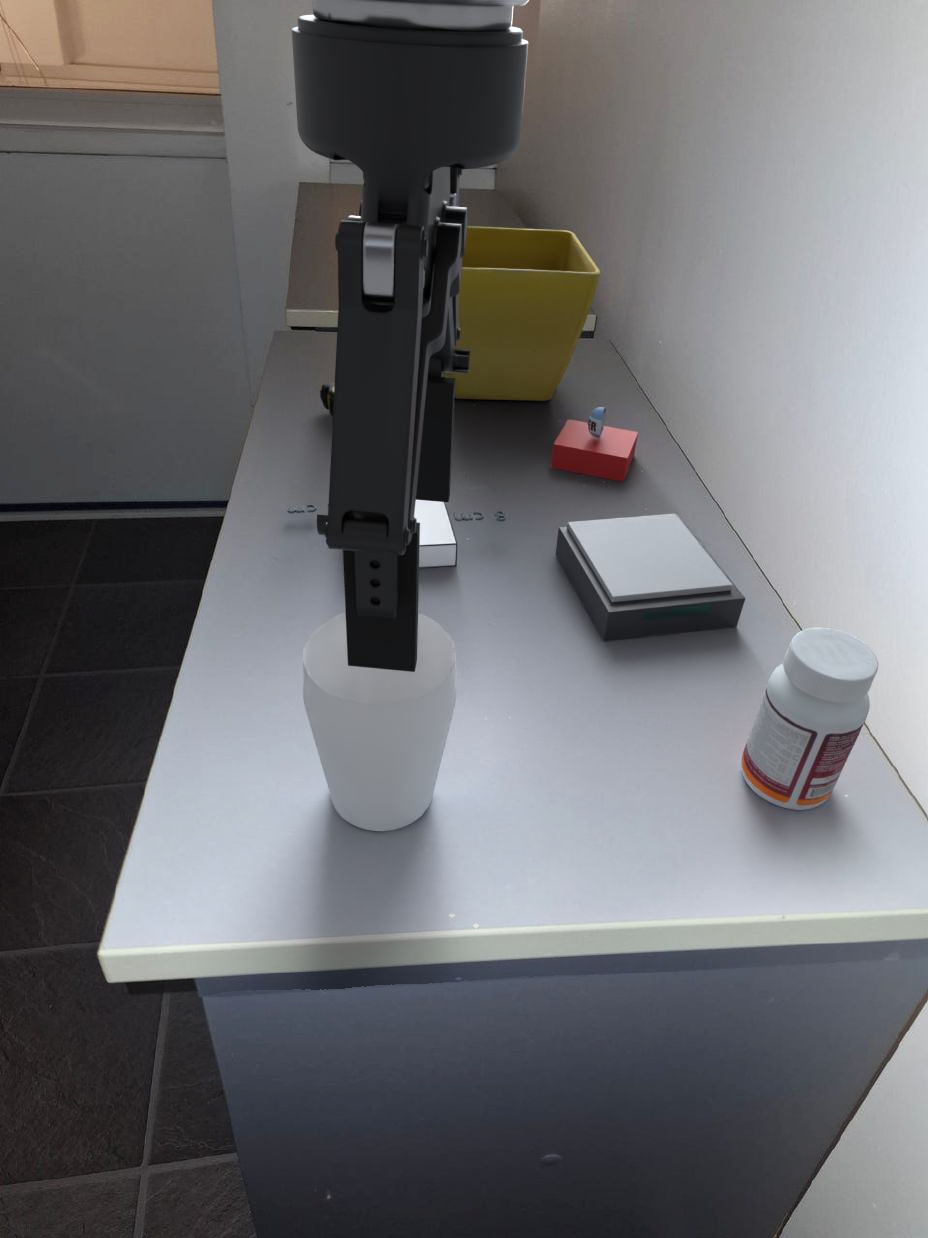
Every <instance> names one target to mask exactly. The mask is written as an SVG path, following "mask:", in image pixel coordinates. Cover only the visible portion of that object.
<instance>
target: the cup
mask: <svg viewBox="0 0 928 1238" xmlns="http://www.w3.org/2000/svg"><path fill="white" fill-rule="evenodd" d="M302 653H303V654H302V662H303V663H302V666H303V667H302V669H303V687H302V699H303V704H304V709H305V712H306V716H307V719H308V723H309V726H310V730H311V733H312V737H313V741H314V744H315V747H316V751H317V754H318V757H319V761H320V765H321V767H322V771H323V775H324V778H325V781H326V785H327V788H328V792H329V796H330V798H331V802H332V805H333V807H334V809H335V811H336V812H337V814H338V815H339V816H340V817H341V818H342V819H343V820H345V821H346V822H348V823H349V824H351V825H353V826H354V827H357V828H359V829H363V830H367V831H371V832H372V831H373V832H387V831H388V832H389V831H394V830H397V829H402V828H404V827H406V826H408V825H410V824H412V823H414V822H416V821H417V820H419V818H421V817H422V816H423V815H424V814H425V812H426V811H427V810H428V808H429V807H430V805H431V802H432V800H433V795H434V793H435V787H436V784H437V779H438V776H439V773H440V768H441V765H442V764H441V763H442V760H443V756H444V753H445V752H444V751H445V748H446V743H447V739H448V736H449V731H450V728H451V723H452V719H453V715H454V710H455V708H456V703H457V694H458V683H457V652H456V646H455V643H454V640H453V638H452V637H451V634H449V632H448V631H447V630H446V629H445V628H444V627H443V626H442V625H441V624H440V623H438V622H437V621H435V620H434V619H432V618H430V617H429V616H427V615H425V614H423V613H420V612H418V644H417V663H416V668H415V672H409V671H399V670H388V669H377V668H367V667H356V666H348V656H347V634H346V611H344V612H341V613H339V614H336V615H333V616H332V617H331V618H329V619H327V620H325V621H324V622H323V623H321V624H320V625H319V626H318V627H317V628H315V629H314V630H313V631H312V633H311V634H310V635H309V637H308V639H307V640H306V642H305V645H304V647H303V652H302Z"/></svg>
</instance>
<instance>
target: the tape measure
mask: <svg viewBox="0 0 928 1238" xmlns="http://www.w3.org/2000/svg"><path fill="white" fill-rule="evenodd" d="M334 385H335V382H329V383H325V384H322V385H321V389H320V390H319V393H320V394H319V397H320V400H321V402H322V405H323V407H324V408H325V409H326V410H328V411H329V414H330V416H331V417H332V418H333V405H334Z"/></svg>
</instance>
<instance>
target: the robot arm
mask: <svg viewBox="0 0 928 1238" xmlns="http://www.w3.org/2000/svg"><path fill="white" fill-rule="evenodd" d="M529 1H530V0H311V2H312V3H311V4H312V14H305V15H299V17H298V18H297V26H294V27H292V28H291V40H292V58H293V60H292V61H293V74H294V76H293V77H294V91H295V103H296V104H295V108H296V123H297V131H298V135H299V138H300V140H301V142H302V143H303V145H305V147H306V148H307V149H308V150H310V151H312V152H313V153H315V154H316V155H319V156H321V157H324V158H326V159H329V160H332V161H349V162H351V163H353V164H354V165H355V166H357V167H358V168H359V170H360V171H361V172H362V179H363V187H362V189H361V200H360V204H359V210H358V215H357V216H356V215H349V216H348V217H347V219H341V220H340V221H339V224H338V229H337V230H338V231H337V232H336V233H335V237H334V240H335V241H334V245H335V247H334V248H335V251H336V252H337V291H338V295H337V296H338V297H337V298H338V310H337V328H336V345H335V347H336V348H335V350H336V351H335V367H334V383H335V385H334V405H333V417H332V426H331V445H330V467H329V487H328V503H327V514H319V513H318V514H316V530H317V533H318V535H319V536H320V535H321V536H324V537H325V544H326V545H327V548H328V549H331V550H339V551H342V561H343V562H342V564H343V565H342V566H343V567H342V568H343V586H344V587H343V588H344V589H343V590H344V607H345V608H344V610H345V611H344V612H346V634H347V656H348V666H356V667H367V668H377V669H388V670H399V671H409V672H415V668H416V663H417V644H418V613H419V595H420V594H419V592H420V568H419V546H420V523H417V519H416V518H415V517H414V512H415V502H416V500H426V501H438V502H445V503H449V502H450V498H451V497H450V496H451V480H452V458H453V457H452V455H453V437H454V436H453V435H454V413H455V398H454V393H455V378H449V377H446V376H445V372H449V373H462V374H468V372H469V363H470V350H463V349H455V347H457V341H458V340H460V336H461V329H459V327H458V294H459V291H460V282H461V273H462V256H463V255H464V252H465V243H466V234H467V226H469V225H468V224H469V223H468V207H466V206H465V207H461V206H460V204H459V202H460V178H461V176H463V170H471V169H479V168H485V167H491V166H494V165H497V164H500V163H503V162H505V161H507V160H509V159H511V157H513V155H515V154H516V152H517V150H518V149H519V147H520V143H521V139H522V128H523V127H522V126H523V115H524V101H525V89H526V77H527V63H528V52H529V51H528V50H529V41H528V40H526V39H523V35H524V33H523V32H524V31H523V30H522V29H521V28H520V27H516V26H513V18H514V17H513V15H514V7H521V6H525V5H527V3H528V2H529Z"/></svg>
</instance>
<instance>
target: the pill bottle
mask: <svg viewBox="0 0 928 1238" xmlns="http://www.w3.org/2000/svg"><path fill="white" fill-rule="evenodd" d="M878 670H879V660H878V657H877V655H876V654H875V652H874V650H873V649H871V647H870V646H869V645H868V644H867V643H865V642H864V641H862V640H861V639H859V638H858V637H856V636H854V635H852V634H850V633H849V632H845V631H842V630H839V629H835V628H830V627H820V626H819V627H818V626H817V627H808V628H805V629H802V630H800V631H798V632H797V633H795V634H794V636H793V637H792V638H791V641H790V643H789V646H788V649H787V651H786V653H785V655H784V658H783V662H782V663H781V664H779V665H778V666H777V667H775V668H774V670H773V671H772V673H771V674H770V676H769V679H768V681H767V683H766V686H765V688H764V692H763V694H762V697H761V700H760V703H759V705H758V708H757V711H756V714H755V717H754V719H753V723H752V726H751V729H750V731H749V734H748V737H747V740H746V743H745V746H744V748H743V751H742V754H741V759H740V771H741V774H742V777H743V779H744V781H745V783H746V784H747V785H748V787H749V788H750V789H751V790H752V791H753V792H754V793H755V794H756V795H758V796H759V797H760V798H762V799H764V800H765V801H767V802H768V803H771V804H773V805H775V806H778V807H781V808H784V809H789V810H795V811H804V810H810V809H811V810H812V809H814V808H816V807H819V806H820V805H822V804H824V803H825V802H826V801H827V800H828V799H829V798H830V797H831V794H832V793H833V791H834V790H835V786H836V785H837V783H838V780H839V778H840V776H841V774H842V771H843V770H844V767H845V765H846V763H847V761H848V758H849V756H850V754H851V752H852V750H853V748H854V746H855V744H856V742H857V740H858V738H859V736H860V733H861V731H862V729H863V727H864V724H865V723H866V721H867V718H868V714H869V711H870V707H871V703H870V696H869V692H870V689H871V687H872V684H873V682H874V679H875V678H876V675H877V673H878Z"/></svg>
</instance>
